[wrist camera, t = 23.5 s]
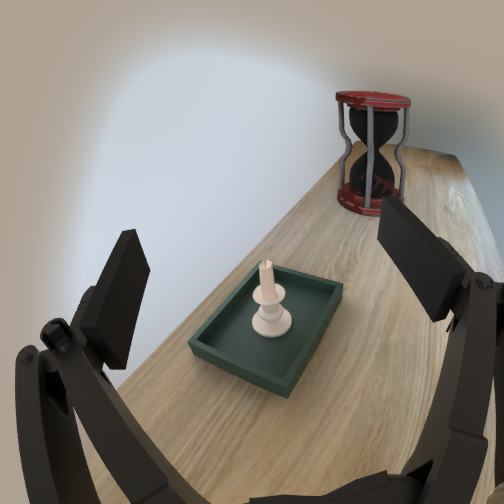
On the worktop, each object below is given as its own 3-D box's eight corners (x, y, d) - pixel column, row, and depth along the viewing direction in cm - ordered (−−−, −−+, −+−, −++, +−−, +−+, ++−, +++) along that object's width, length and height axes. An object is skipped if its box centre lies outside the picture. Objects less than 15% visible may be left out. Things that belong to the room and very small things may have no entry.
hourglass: (344, 183, 74) (342, 89, 59) (404, 192, 67) (409, 95, 52) (330, 210, 62) (327, 94, 48) (402, 222, 55) (412, 102, 41)
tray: (287, 398, 30) (286, 387, 28) (193, 354, 36) (187, 341, 35) (341, 297, 41) (343, 283, 40) (261, 274, 48) (259, 260, 46)
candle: (252, 339, 36) (240, 277, 30) (252, 309, 41) (242, 248, 35) (293, 336, 36) (291, 273, 30) (290, 306, 40) (286, 244, 34)
